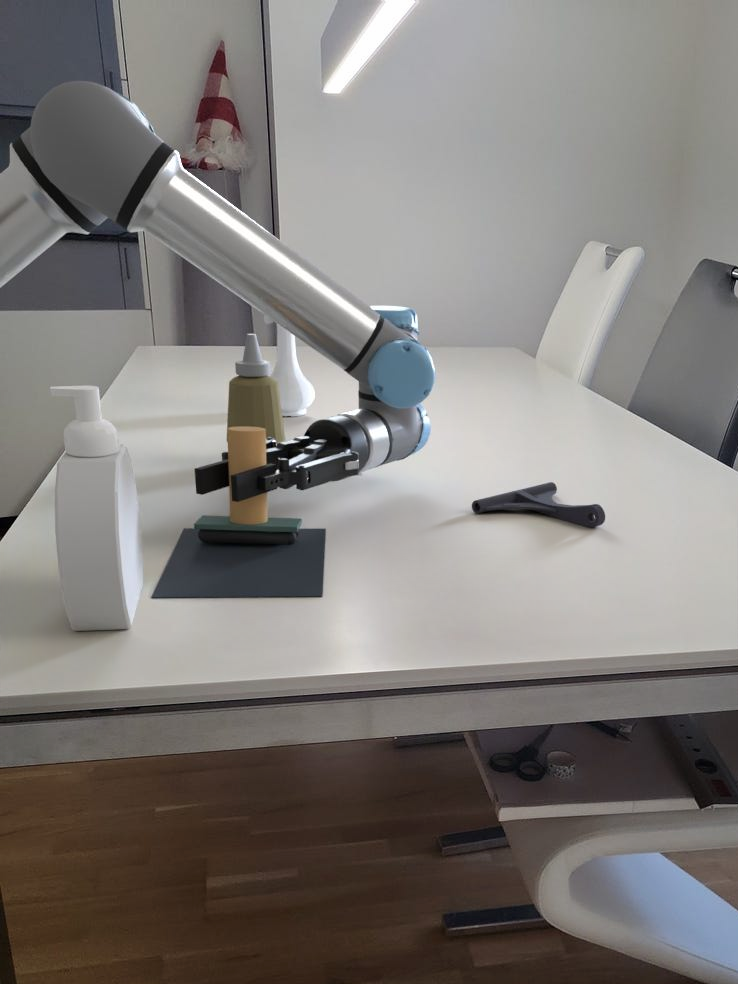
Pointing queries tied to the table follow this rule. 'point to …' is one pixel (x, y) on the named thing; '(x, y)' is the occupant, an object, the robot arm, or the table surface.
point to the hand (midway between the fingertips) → (216, 485)
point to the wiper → (247, 500)
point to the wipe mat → (244, 568)
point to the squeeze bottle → (255, 394)
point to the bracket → (542, 505)
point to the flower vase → (290, 375)
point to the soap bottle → (96, 520)
